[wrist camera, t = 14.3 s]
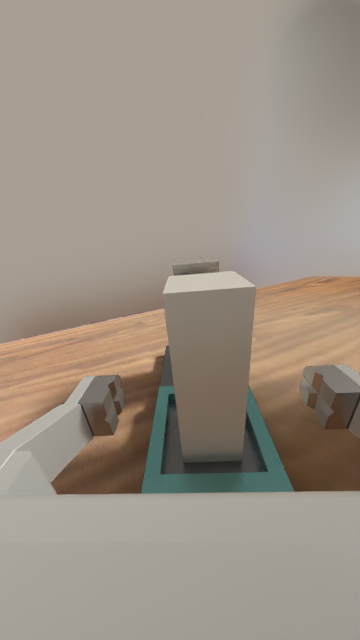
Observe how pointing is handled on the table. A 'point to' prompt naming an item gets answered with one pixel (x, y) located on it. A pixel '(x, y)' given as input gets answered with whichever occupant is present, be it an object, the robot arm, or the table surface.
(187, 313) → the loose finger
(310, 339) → the table surface
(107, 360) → the table surface
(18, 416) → the table surface
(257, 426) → the tray with white post
